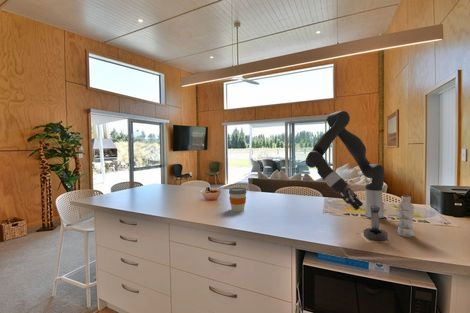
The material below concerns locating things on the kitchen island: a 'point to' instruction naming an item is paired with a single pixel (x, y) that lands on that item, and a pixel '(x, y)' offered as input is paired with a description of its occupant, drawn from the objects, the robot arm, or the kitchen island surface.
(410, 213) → the plastic bottle
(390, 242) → the oak base plate
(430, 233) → the kitchen island surface
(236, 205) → the reusable coffee cup
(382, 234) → the chuck collar
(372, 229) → the steel key rod
